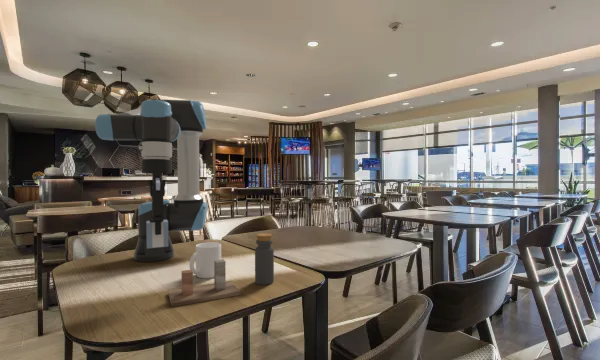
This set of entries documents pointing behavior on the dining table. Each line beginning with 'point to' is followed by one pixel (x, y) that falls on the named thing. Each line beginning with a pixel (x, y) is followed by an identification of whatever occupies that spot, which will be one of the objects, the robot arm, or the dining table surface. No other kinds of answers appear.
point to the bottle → (264, 260)
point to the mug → (205, 259)
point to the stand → (203, 288)
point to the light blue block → (149, 234)
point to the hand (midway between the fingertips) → (157, 244)
